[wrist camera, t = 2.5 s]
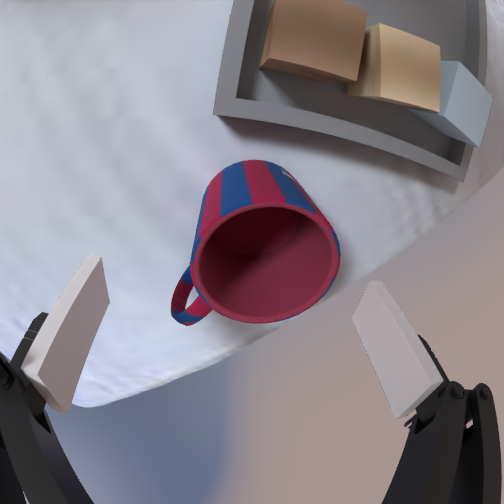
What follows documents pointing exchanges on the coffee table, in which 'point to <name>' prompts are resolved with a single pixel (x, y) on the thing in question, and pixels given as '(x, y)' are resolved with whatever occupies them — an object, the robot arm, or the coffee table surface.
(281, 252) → the mug
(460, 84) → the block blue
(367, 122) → the tray
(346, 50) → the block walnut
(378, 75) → the block beech
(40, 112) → the coffee table surface
